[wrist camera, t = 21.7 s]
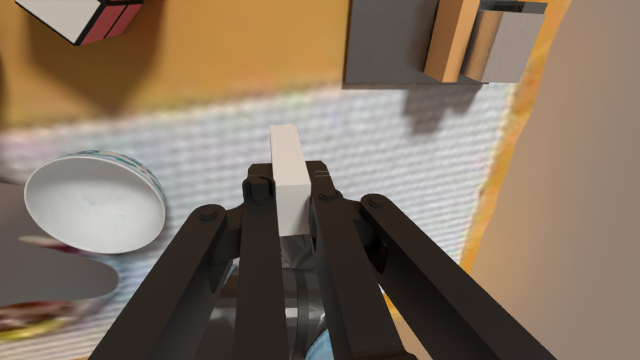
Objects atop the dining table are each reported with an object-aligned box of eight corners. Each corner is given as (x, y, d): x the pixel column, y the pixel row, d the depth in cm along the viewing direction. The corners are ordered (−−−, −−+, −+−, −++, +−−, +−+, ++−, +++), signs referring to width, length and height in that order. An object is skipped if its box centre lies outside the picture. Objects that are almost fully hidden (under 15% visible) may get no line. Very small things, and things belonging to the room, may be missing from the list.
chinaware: (34, 147, 39) (-12, 178, 32) (144, 116, 39) (121, 141, 33) (105, 228, 47) (80, 266, 41) (196, 202, 47) (185, 235, 41)
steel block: (472, 66, 42) (518, 82, 35) (440, 66, 41) (480, 82, 34) (489, 10, 38) (545, 14, 31) (455, 8, 37) (503, 12, 30)
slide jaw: (440, 73, 41) (460, 82, 37) (423, 73, 41) (442, 82, 37) (459, -2, 37) (484, -1, 32) (440, -3, 36) (464, -3, 32)
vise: (484, 82, 45) (512, 93, 40) (344, 81, 41) (355, 93, 36) (515, -12, 38) (554, -13, 33) (353, -23, 35) (368, -26, 30)
